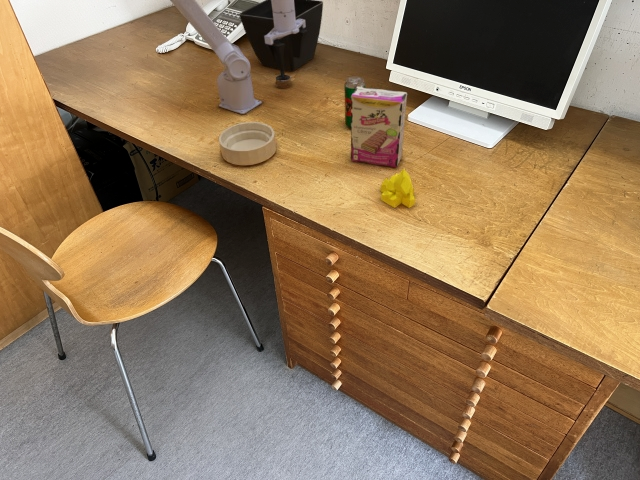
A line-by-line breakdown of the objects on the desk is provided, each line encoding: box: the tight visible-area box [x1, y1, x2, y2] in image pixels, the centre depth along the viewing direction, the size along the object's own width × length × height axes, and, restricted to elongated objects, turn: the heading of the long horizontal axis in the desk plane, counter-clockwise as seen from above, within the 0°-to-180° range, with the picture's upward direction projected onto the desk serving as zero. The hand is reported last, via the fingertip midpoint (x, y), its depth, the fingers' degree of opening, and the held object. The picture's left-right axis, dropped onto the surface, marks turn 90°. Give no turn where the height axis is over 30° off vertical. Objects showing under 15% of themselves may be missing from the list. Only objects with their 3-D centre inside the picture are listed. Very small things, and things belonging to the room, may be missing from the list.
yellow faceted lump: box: [380, 168, 416, 209], centre depth 97 cm, size 6×8×8 cm
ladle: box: [275, 67, 292, 89], centre depth 138 cm, size 4×4×11 cm
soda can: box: [343, 76, 366, 129], centre depth 119 cm, size 5×5×12 cm
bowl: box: [218, 121, 277, 166], centre depth 114 cm, size 13×13×4 cm
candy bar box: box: [350, 87, 408, 168], centre depth 105 cm, size 11×5×16 cm, turn 71°
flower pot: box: [238, 0, 324, 72], centre depth 149 cm, size 19×19×17 cm
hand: (288, 62), depth 131 cm, fingers open, 7 cm apart
